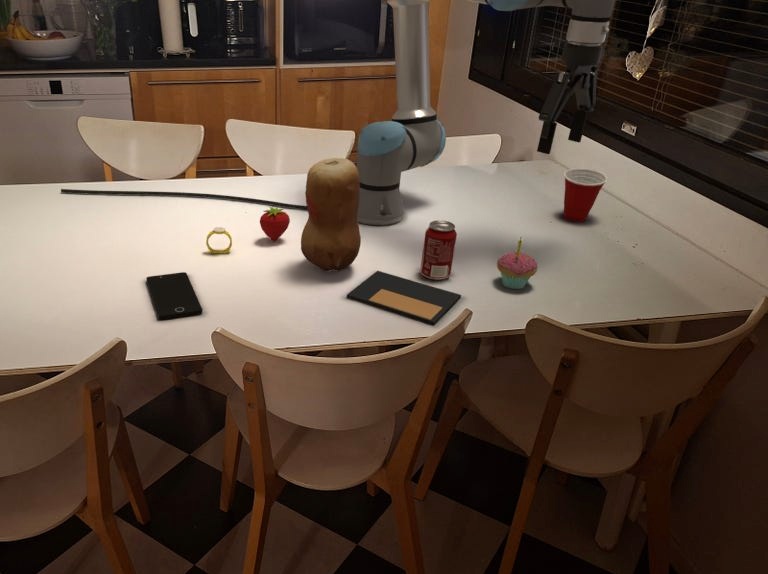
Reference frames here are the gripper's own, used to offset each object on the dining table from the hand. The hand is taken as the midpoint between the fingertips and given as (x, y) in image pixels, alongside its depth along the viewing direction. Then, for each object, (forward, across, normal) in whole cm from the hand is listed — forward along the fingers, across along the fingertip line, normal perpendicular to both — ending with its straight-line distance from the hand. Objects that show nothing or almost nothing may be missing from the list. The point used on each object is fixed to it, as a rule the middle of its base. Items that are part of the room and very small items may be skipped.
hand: (559, 146), depth 152 cm
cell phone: (+26, -79, +38) cm, 92 cm away
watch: (+26, -58, +49) cm, 81 cm away
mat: (+25, -43, +6) cm, 50 cm away
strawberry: (+26, -44, +46) cm, 68 cm away
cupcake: (+25, -20, -6) cm, 33 cm away
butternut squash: (+26, -44, +26) cm, 58 cm away
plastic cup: (+26, +28, +4) cm, 38 cm away
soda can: (+26, -29, +8) cm, 40 cm away
